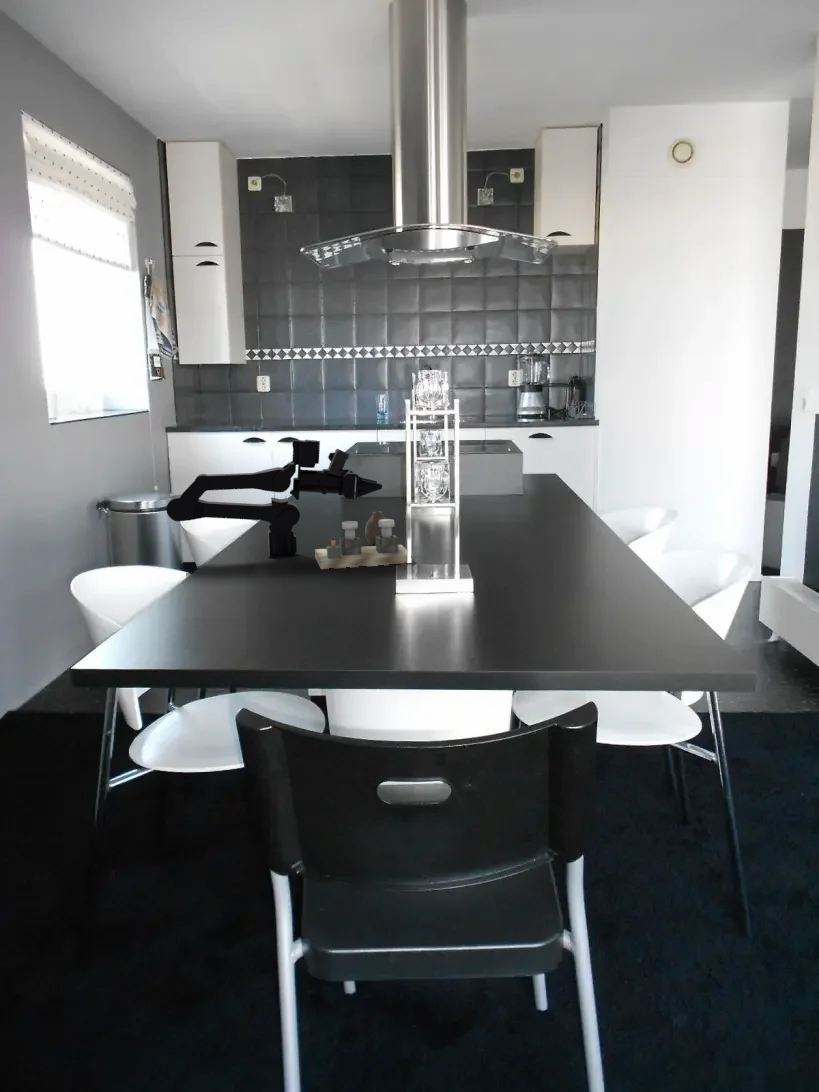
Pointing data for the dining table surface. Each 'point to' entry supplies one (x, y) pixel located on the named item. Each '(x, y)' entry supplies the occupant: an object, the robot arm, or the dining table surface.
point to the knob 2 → (386, 527)
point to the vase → (373, 527)
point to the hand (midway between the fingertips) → (379, 485)
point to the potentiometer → (333, 550)
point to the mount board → (364, 554)
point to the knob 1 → (349, 529)
